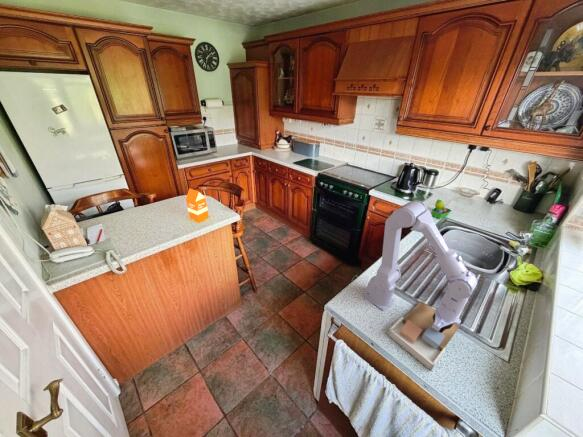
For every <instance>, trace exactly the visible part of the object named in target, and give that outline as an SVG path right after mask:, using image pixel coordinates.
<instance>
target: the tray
mask: <svg viewBox="0 0 583 437" xmlns="http://www.w3.org/2000/svg"><path fill="white" fill-rule="evenodd" d="M404 318H405V317H404V316H401V317H400V318H399V319H398V320H397V321H396V322H394V324H393V325H391V327H390V328H389V329H388V332H387V334H386V335H387V336H388V337H389V338H390V339H392V340H393V341H394V342H395V343H396V344H398V345H399V346H400V347H401V348H402V349H404V350H405V351H406V352H407V353H408V354H410V355H411V356H412V357H413V358H415V359H416V360H417V361H418V362H419V363H421V364H422V365H423V366H424V367H426V368H427V369H428V371H430V372H432V370H433V369H434V368H435V366H436V364H438V362H439V361H440V359H441V358H442V356H443V355H444V353H445V352H446V350H447V348H446V347H445V348H443V350H442V351H440V350H438V349H435V348H434V347H433V346H431V345H430V344H429V343H427V342H426V341H424V340H423V339H422V337H421V336H420V335H419V337H418V338H417V340H416V341H415V343H412V342H411V341H410V340H408V339H407V338H406V337H404V336H403V335H402V334H400V330H401V329H402V328H403V326H404V325H405V324H404V323H403V322H402V321H403V319H404Z"/></svg>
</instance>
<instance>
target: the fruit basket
mask: <svg viewBox="0 0 583 437" xmlns="http://www.w3.org/2000/svg"><path fill="white" fill-rule="evenodd" d="M445 206H446V205H445V203H444V201H443V200H441V199H437V200H436V201H435V204H434V207H435V208H432V209H431V215H432V218H435V219H437V218H438V219H437V220H441V219H443V217H444V218H446V217H448V216H449V214H450V213H451V212H452V209H450V208H448V207H445ZM445 216H446V217H445ZM440 218H441V219H440Z"/></svg>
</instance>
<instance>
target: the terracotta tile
mask: <svg viewBox="0 0 583 437" xmlns="http://www.w3.org/2000/svg"><path fill="white" fill-rule="evenodd" d="M421 332H422V329H421V328H419V327H418V326H416V325H415V324H414V323H412V322H411V321H409V320H408V321H407V322H406V324H405V325H404V326H403V328H402V329H401V330H400V334H402V335H403V336H404V337H406V338H407V339H408V340H410V341H411V342H412V343H415V341H416V340H417V338H418V337H419V335H420V334H421Z"/></svg>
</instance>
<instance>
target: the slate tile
mask: <svg viewBox="0 0 583 437" xmlns="http://www.w3.org/2000/svg"><path fill="white" fill-rule="evenodd" d="M444 337H445V335H443V334H442V333H440V332H438V331H436V330H435V329H434V328H432V326H429V327H428V329H427V330H426V331H425V332H424V334H423V336H422V339H423V340H424V341H426V342H427V343H429V344H430V345H431V346H433V347H434V348H435V349H437V348H438V347H439V345H440V344H441V342H442V341H443V339H444Z"/></svg>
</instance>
